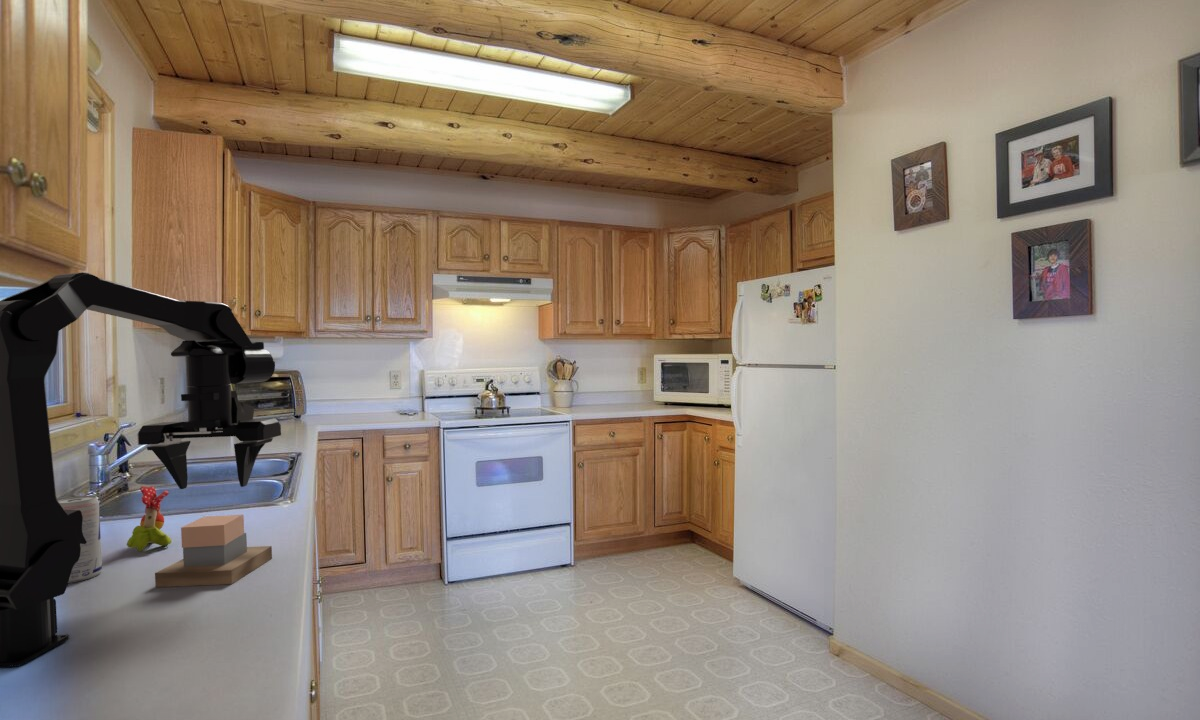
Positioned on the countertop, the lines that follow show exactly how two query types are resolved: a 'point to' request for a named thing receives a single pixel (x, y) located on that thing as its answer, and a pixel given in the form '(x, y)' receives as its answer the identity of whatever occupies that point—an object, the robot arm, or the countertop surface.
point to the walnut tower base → (213, 570)
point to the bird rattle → (150, 522)
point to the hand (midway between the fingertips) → (213, 487)
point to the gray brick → (215, 553)
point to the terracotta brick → (212, 531)
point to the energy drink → (86, 537)
